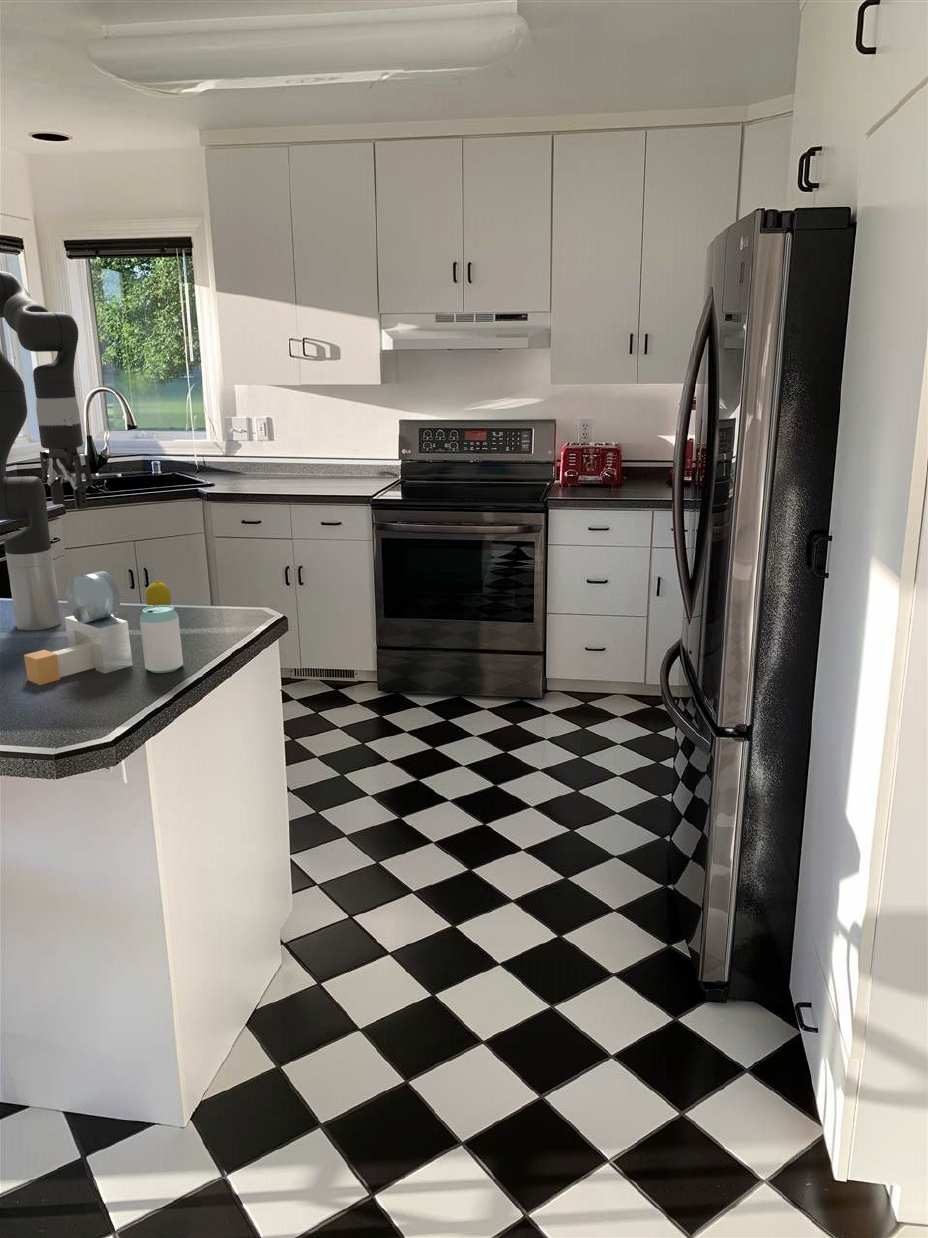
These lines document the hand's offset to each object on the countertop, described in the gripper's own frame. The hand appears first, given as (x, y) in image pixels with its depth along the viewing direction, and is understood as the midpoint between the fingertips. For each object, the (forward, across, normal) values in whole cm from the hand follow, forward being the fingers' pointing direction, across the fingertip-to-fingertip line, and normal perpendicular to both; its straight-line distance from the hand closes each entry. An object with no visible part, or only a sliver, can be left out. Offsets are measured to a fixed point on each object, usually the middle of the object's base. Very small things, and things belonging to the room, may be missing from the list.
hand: (70, 506), depth 189 cm
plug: (+30, +8, -6) cm, 32 cm away
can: (+30, +21, +4) cm, 37 cm away
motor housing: (+30, +8, -2) cm, 31 cm away
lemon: (+30, -14, +26) cm, 42 cm away
